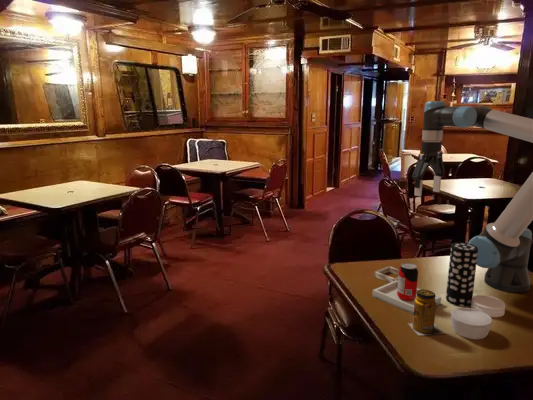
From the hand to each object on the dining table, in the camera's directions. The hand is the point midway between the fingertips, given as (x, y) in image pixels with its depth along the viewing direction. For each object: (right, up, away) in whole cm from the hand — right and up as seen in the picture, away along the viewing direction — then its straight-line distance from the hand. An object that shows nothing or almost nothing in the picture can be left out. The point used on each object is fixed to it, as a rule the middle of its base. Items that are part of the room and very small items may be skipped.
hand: (427, 193), depth 168 cm
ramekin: (-4, -43, -43) cm, 61 cm away
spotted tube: (+2, -38, -24) cm, 45 cm away
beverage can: (-16, -37, -23) cm, 47 cm away
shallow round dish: (+8, -40, -30) cm, 51 cm away
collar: (-16, -33, -4) cm, 37 cm away
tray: (-17, -38, -23) cm, 47 cm away
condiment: (-17, -42, -42) cm, 62 cm away
